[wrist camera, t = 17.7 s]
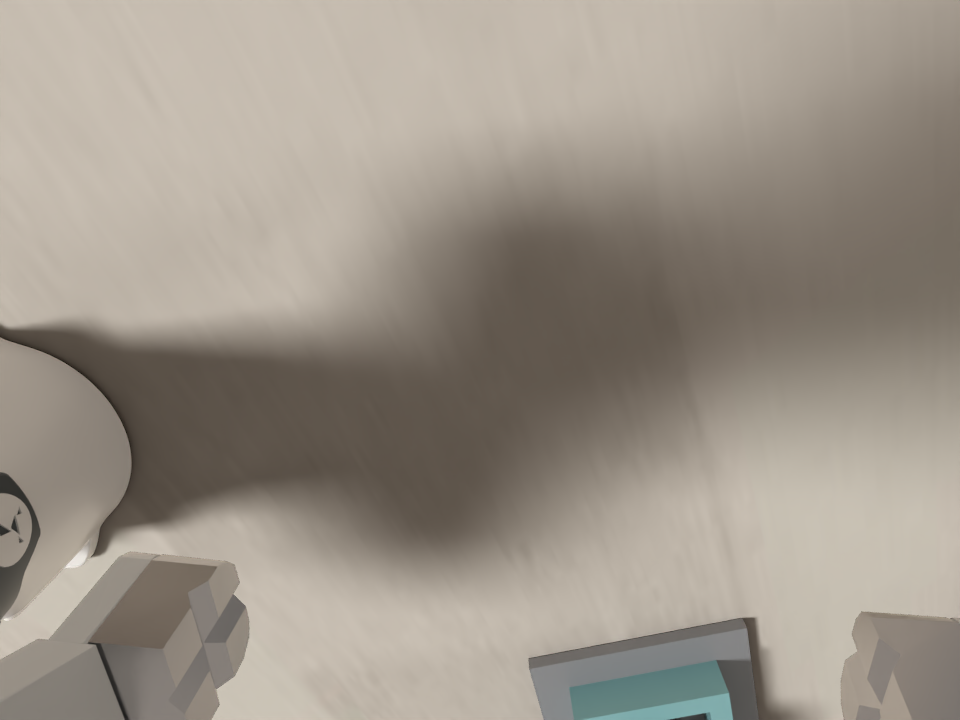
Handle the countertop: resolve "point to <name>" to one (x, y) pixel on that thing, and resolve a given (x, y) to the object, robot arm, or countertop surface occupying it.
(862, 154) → the countertop surface
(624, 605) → the countertop surface
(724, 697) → the socket
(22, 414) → the robot arm
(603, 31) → the countertop surface
